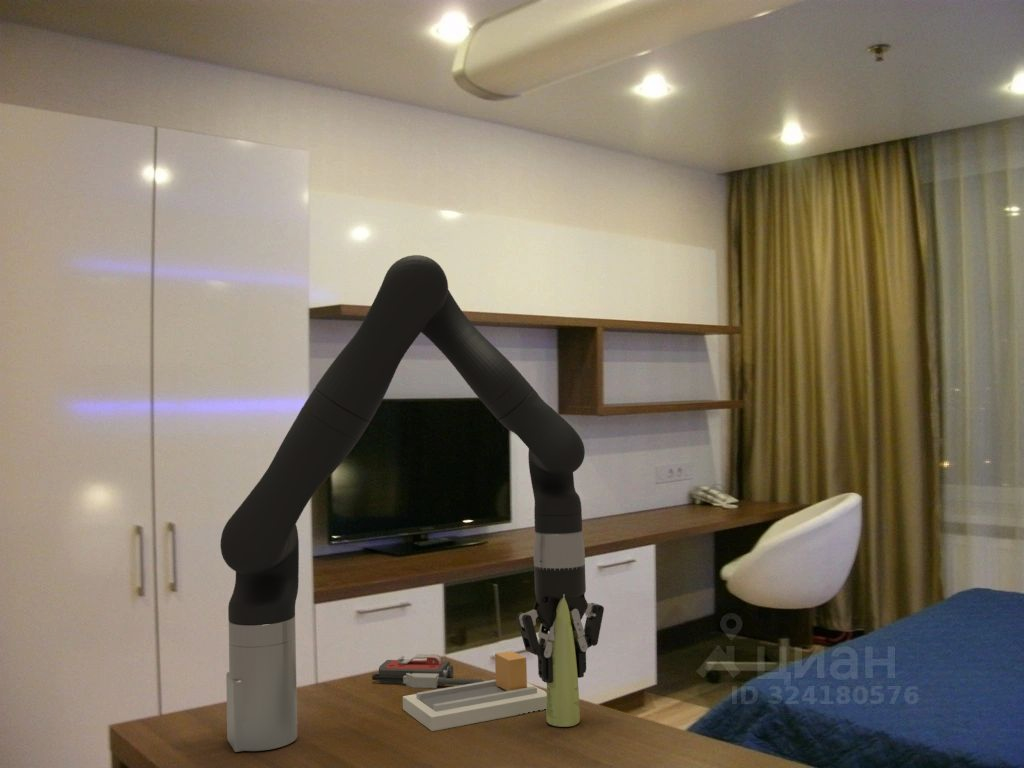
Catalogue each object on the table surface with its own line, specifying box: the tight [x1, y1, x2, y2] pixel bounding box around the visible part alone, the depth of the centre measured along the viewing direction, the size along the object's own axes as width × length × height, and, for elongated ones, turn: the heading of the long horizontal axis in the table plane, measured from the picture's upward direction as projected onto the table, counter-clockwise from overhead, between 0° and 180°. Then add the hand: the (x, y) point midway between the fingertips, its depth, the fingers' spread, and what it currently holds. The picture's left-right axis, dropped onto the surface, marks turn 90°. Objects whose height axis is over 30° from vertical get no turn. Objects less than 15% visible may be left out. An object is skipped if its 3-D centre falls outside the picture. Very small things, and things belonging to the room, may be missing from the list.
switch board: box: [402, 678, 547, 732], centre depth 143 cm, size 20×12×3 cm, turn 117°
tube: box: [545, 595, 581, 728], centre depth 135 cm, size 6×5×20 cm
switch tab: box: [494, 650, 528, 691], centre depth 146 cm, size 3×5×5 cm, turn 27°
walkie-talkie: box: [371, 653, 484, 689], centre depth 159 cm, size 9×4×20 cm
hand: (562, 678), depth 135 cm, fingers closed on tube, 4 cm apart
